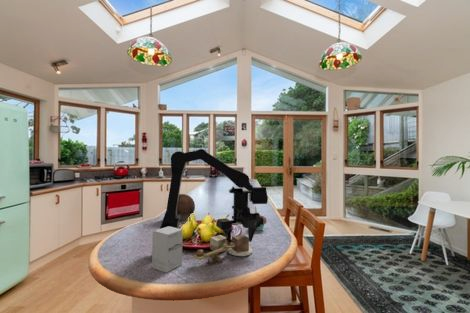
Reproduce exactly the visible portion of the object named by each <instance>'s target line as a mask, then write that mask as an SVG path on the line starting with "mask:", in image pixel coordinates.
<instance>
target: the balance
mask: <svg viewBox="0 0 470 313" xmlns="http://www.w3.org/2000/svg"><path fill="white" fill-rule="evenodd" d="M223 246H224V247H222V248H220V249H217V250H214V251H212V250H211V251H209V252H206V253H205V251H204V250H205V249H197V250H196V253H194V255H193V258H194V259H196V260H200V261H201V260H204V259H206V258H207V263H208V264H209V265H210V266H213V265H218V264H222V263H223V259H222V258H221V257H220V256H219V254H220V253H223V252H222V251H224V252H226V251H225V250H227V249H230V248H233V247H235V243H232V241H231V242H226V243H224V244H223ZM227 251H228V250H227ZM219 252H220V253H219ZM208 257H210V258H208Z"/></svg>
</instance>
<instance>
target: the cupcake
mask: <svg viewBox="0 0 470 313" xmlns="http://www.w3.org/2000/svg"><path fill="white" fill-rule="evenodd" d="M254 210H255V211H254V213H258V211H257V207H256V206H254ZM260 216H261V217H263V219H264V224H263V225H261V226H260V227H258V228H257V229H256V231H262V230H264V226H265V224H267V222H268V220H267V218H266V217H265V216H263V215H261V214H260Z"/></svg>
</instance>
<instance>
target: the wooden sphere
mask: <svg viewBox="0 0 470 313" xmlns="http://www.w3.org/2000/svg"><path fill="white" fill-rule="evenodd" d="M195 209H196V204H195V201H194V199H193V198H192V196H190V195H188V194H185V193H179V199H178V206H177V215H181V216H180V219H179V221H186V220H188V219H189V218H190V217H189V216H190V214H191V213H193V214H194V213H195ZM188 217H189V218H188Z"/></svg>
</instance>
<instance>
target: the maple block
mask: <svg viewBox="0 0 470 313" xmlns="http://www.w3.org/2000/svg"><path fill="white" fill-rule="evenodd" d="M226 242H227V239H226V236H225V235H221V234H218V235H215V236H211V237H210V242H209V243H210V246H209V249H210V251H211V252H212V251H214V250H217V249H220V248H222V247H224V246H223V244H224V243H226ZM224 252H228V249H227V250H225V251H222V252H219V253H218V254H220V253H224Z"/></svg>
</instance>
